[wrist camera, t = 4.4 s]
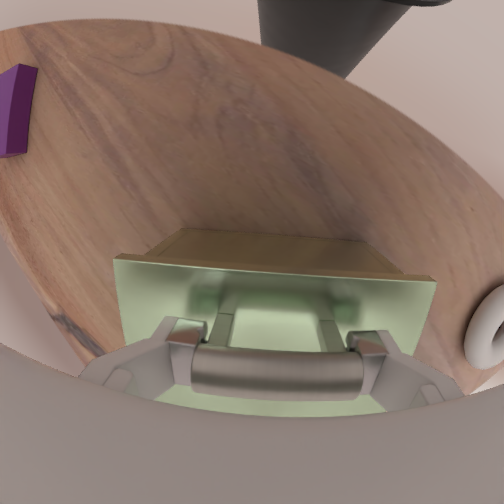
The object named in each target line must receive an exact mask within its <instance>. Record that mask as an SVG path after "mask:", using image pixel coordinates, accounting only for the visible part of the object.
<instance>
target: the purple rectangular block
mask: <svg viewBox="0 0 504 504" xmlns="http://www.w3.org/2000/svg"><path fill="white" fill-rule="evenodd" d="M37 70H38V69H37V68H34V67H30V66H27V65H23V64H17V65H15V66H14V67H12V68H10V69H9V70H7V71H5V72H4V73H2V74H1V75H0V158H8V157H11V156H15V155H19V154H23V153H26V152H27V138H28V126H29V117H30V109H31V102H32V96H33V90H34V84H35V79H36V74H37Z"/></svg>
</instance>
